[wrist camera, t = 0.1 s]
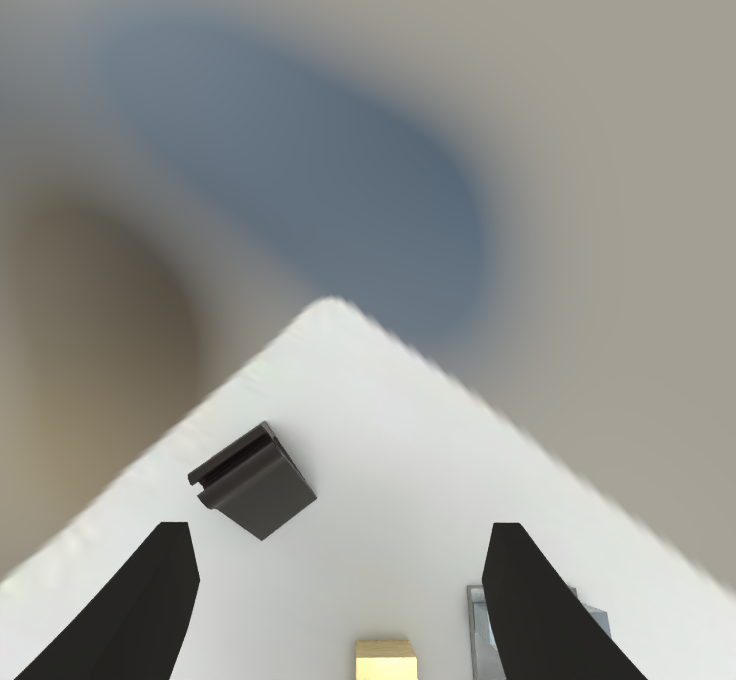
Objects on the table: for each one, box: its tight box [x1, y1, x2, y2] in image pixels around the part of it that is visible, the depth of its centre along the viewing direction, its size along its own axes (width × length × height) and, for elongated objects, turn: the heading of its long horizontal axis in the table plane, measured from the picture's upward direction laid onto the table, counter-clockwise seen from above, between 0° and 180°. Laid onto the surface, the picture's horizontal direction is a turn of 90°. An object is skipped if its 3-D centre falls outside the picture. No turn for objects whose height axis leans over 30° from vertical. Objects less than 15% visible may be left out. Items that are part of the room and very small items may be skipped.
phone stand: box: [188, 421, 317, 541], centre depth 36 cm, size 9×6×12 cm, turn 37°
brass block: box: [355, 640, 417, 680], centre depth 34 cm, size 4×4×5 cm
